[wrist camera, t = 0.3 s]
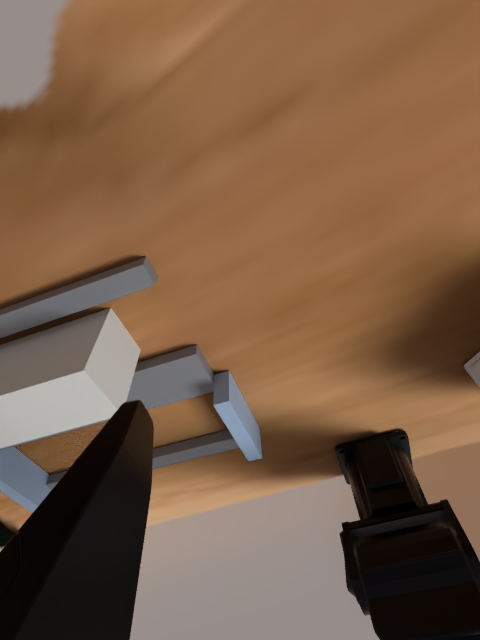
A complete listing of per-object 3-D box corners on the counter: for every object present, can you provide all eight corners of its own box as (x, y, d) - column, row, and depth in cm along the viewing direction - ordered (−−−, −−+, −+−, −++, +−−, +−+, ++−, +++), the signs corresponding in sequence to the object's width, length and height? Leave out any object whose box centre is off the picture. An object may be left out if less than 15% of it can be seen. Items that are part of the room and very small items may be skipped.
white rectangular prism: (140, 348, 27) (122, 415, 22) (4, 390, 29) (-40, 459, 24) (111, 306, 25) (83, 370, 20) (-35, 355, 27) (-91, 423, 22)
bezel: (259, 427, 33) (262, 458, 30) (44, 481, 37) (31, 512, 34) (228, 370, 28) (229, 400, 26) (-12, 438, 32) (-31, 470, 30)
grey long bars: (249, 435, 33) (250, 445, 33) (59, 482, 37) (55, 492, 36) (145, 256, 22) (143, 264, 22) (-109, 348, 26) (-120, 358, 25)
